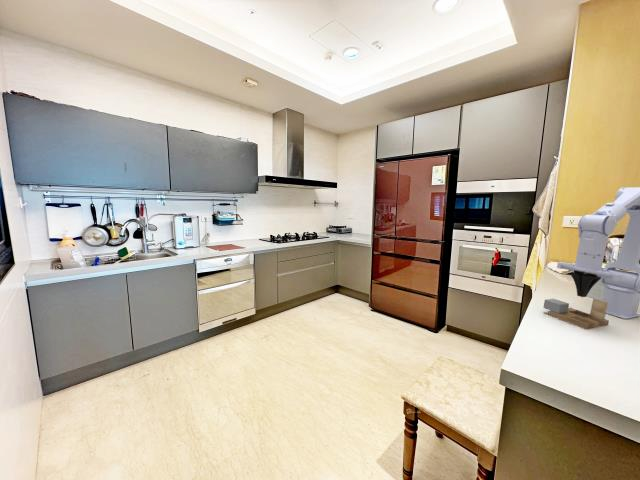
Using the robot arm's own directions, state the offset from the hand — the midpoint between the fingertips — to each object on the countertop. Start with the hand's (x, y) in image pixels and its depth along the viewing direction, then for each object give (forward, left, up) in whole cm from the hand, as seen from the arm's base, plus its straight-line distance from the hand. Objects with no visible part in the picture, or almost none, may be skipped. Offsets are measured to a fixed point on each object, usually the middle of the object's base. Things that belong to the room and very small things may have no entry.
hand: (581, 296), depth 81 cm
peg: (-6, +2, -7) cm, 10 cm away
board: (-3, -1, -9) cm, 10 cm away
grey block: (0, -6, -7) cm, 9 cm away
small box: (-38, -11, -9) cm, 41 cm away
